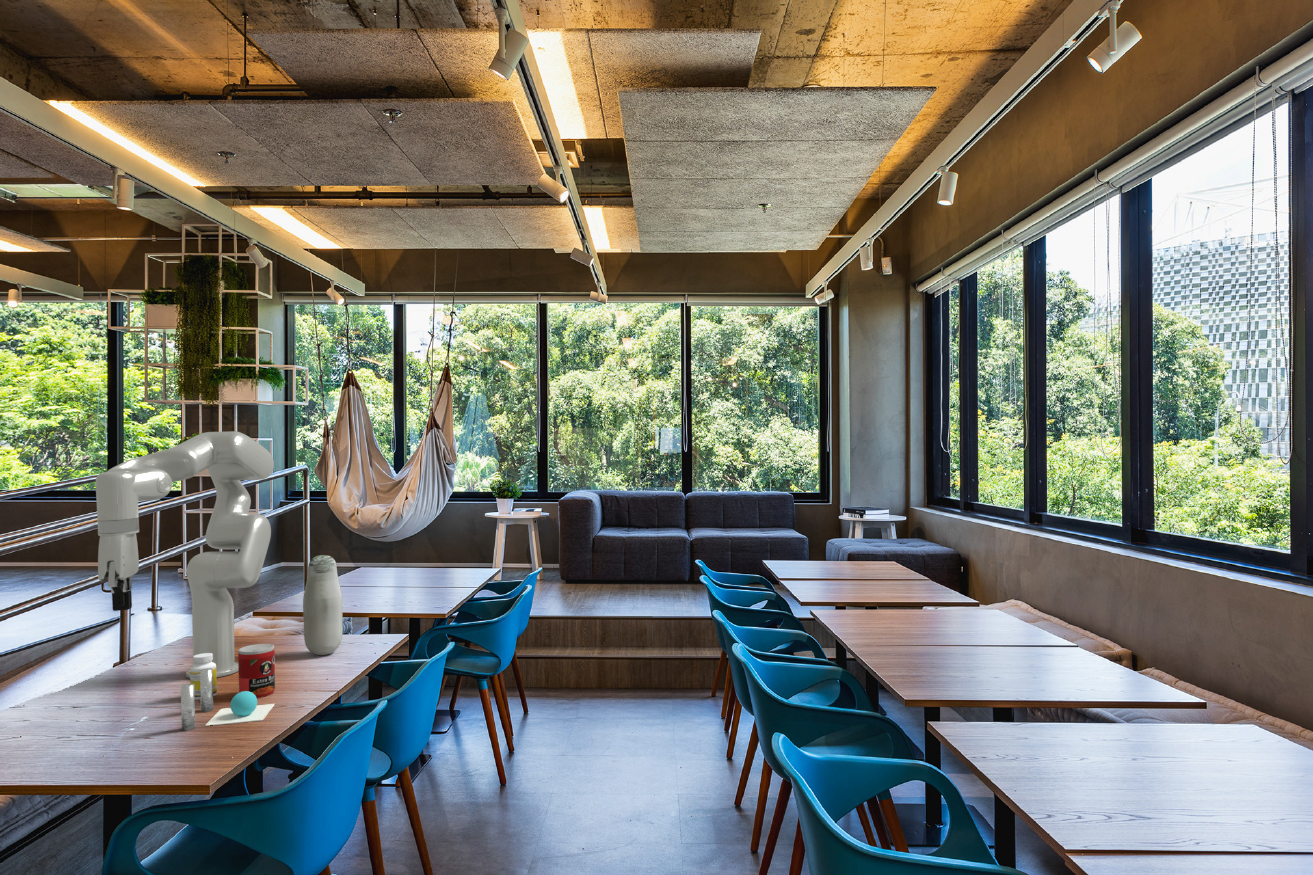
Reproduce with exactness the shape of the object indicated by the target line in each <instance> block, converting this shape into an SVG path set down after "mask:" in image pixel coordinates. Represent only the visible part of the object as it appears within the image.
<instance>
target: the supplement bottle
mask: <svg viewBox="0 0 1313 875" xmlns="http://www.w3.org/2000/svg"><path fill="white" fill-rule="evenodd" d="M212 660H213V654H212V653H203V654H198V655H195V656H193V655H192V665H191V666H190V668H189V669H190V678H189V680H190V682H189V684H194V692H195V701H197V700H198V701H201V690H200V670H202V669H206V668H212V669H213V697H215V696H216V695H217V693H218V682H217V678H218V677H217V675H216V664H215V663H213V662H212ZM193 663H194V665H193Z"/></svg>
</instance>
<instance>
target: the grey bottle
mask: <svg viewBox="0 0 1313 875" xmlns="http://www.w3.org/2000/svg"><path fill="white" fill-rule="evenodd" d="M337 567H338V566H337V563H336V560H335V559H334V557H333V556H331V555H327V554H320V555H316V556H314V557H313V558H311V560H310V561H309V562H308V566H307V578H306V583H305V587H304V591H303V598H302V615H303V616H302V617H303V639H304V644H305V647H306V649H307V650H308V651H309V652H310V653H311V654H314V655H318V656H324V655H329V654H333V652H336V650H337V649H338V648H339V647H340V645H341V643H342V640H343V595H342V594H343V593H342V589H341V588H342V587H341V586H340V582H339V581H340V580H339V576H338V568H337Z"/></svg>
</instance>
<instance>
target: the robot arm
mask: <svg viewBox="0 0 1313 875" xmlns="http://www.w3.org/2000/svg"><path fill="white" fill-rule="evenodd" d="M274 468H275V460H274V458H273V455H272V454H271V452H270V451H268V450H267V448H265V447H264V446H263V445H261V444H260V443H259V442H257V441H256V440H254V439H253V438H251V437H250V436H248V435H246V434H245V433H242V432H240V431H234V430H233V431H232V430H231V431H207V432H203V433H199V434H197V435H195V436H192V437H190V438H189V439H187V440H185V441H183V442H181V443H179V444H177V445H175V446H172V447H170V448H167V449H162V450H159V451H155V452H154V453H153V452H152V453H149V454H145V455H142V456H139V457H135V458H131V459H129V460H126V461H123V462H122V463H119V464H117V465H115V466H113V467H112V468H110V469H108V470H107V471H104V472H100V473H98V475H97V476H96V477H95V493H96V494H95V496H96V514H97V515H96V517H97V535H98V536H99V542H98V552H97V553H98V554H97V574H98V575H97V578H98V581H100V582H106V581H107V580H108V581H107V588H110V593H111V604H112V606H111V607H112V611H113V612H118V611H119V612H120V611H128V610H130V609H132V607H133V601H132V600H133V599H132V598H133V597H132V586H133V585H132V583H133V582H132V579H133V578H134V575H135V574H137V573H138V572H139V567H140V566H139V565H140V564H139V561H140V560H139V559H140V558H139V549H138V540H137V538H138V537H137V534H138V533H140V519H139V518H140V517H139V513H140V512H139V502H143V501H145V502H148V501H150V502H152V501H158V500H160V499H162V498H165V497H166V496H168V494H170V491H171V490H172V487H173V483H174V482H181V481H184V480H189V479H191V478H193V477H195V476H196V475H198V474H199V473H201V472H203V471H205V470H206V469H207V472H208V473H209V476H210V478H211V480H212V483H213V486H214V489H215V493H216V498H215V499H216V500H215V504H214V506H213V509H212V513H211V515H210V519H209V520H208V521H209V522H208V524H207V529H206V532H205V542H206V544H207V546H209V547H211V548H213V549H217V550H224V551H205V552H204V551H203V552H201V553H198V554H196V555H194V556H193V557H192V558H191V559H190V560H189V562H188V564H187V566H186V567H187V568H186V575H187V581H188V584H189V588H190V590H189V591H190V595H191V606H192V607H191V614H192V616H191V617H192V620H191V621H192V622H191V623H192V628H191V629H192V657H193V656H195V655H198V654H203V653H212V654H213V660H212V662H213V663H215V664H216V675H217V678H220V677H225V676H229V675H233V674H235V673H237V672H238V673H239V669H238V661H237V662H236V660H235V659H236V657H235V656H236V654H235V652H236V651H235V605H234V600H233V597H232V595H231V594H230V592H229V590H228V589H244V588H250V587H252V586H254V585H255V584H256V583H257V582H258V581H259V578H260V576H261V573H262V570H263V566H264V563H265V560H266V556H267V552H268V548H269V545H270V541H271V538H272V537H271V536H272V528H271V523H270V521H269V519H268V518H267V517H266V516H265V515H263V514H260V513H249V511H250V509H251V505H252V504H251V503H252V500H251V495H250V494H249V492H248V490H247V488H246V487H245V486H244V485H243V483H242V481H261V480H265V479H268V478H269V477H270V476H271V475H272V473H273V471H274ZM98 536H97V537H98ZM225 550H238V551H225ZM193 665H194V663H193V662H192V666H193ZM185 676H186V678H187V679H190V668H189V669H188V670H186V674H185Z"/></svg>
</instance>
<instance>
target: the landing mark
mask: <svg viewBox="0 0 1313 875" xmlns="http://www.w3.org/2000/svg"><path fill="white" fill-rule="evenodd" d="M274 706H275V703H270V704H269V703H267V704H257V706H256V708H255V710H254V711H253V712H252V713H251V714H249V715H247V716H237V715H235V714H234V713H233V712H232V711H231V708H230V707H225V708H220V709H219V710H218V712H216V713H215V715H213V717H212V718H210V719H209V721H208V722H206V723H205V727H209V726H210V725H213V726H222V725H231V724H233V725H234V724H240V723H250V722H253V723H254V722H261V721H263V720H264V719H265V718H266V717H267V716H268V714H269V713H270V712H271V710H272V709H273V707H274ZM210 727H211V726H210Z"/></svg>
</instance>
